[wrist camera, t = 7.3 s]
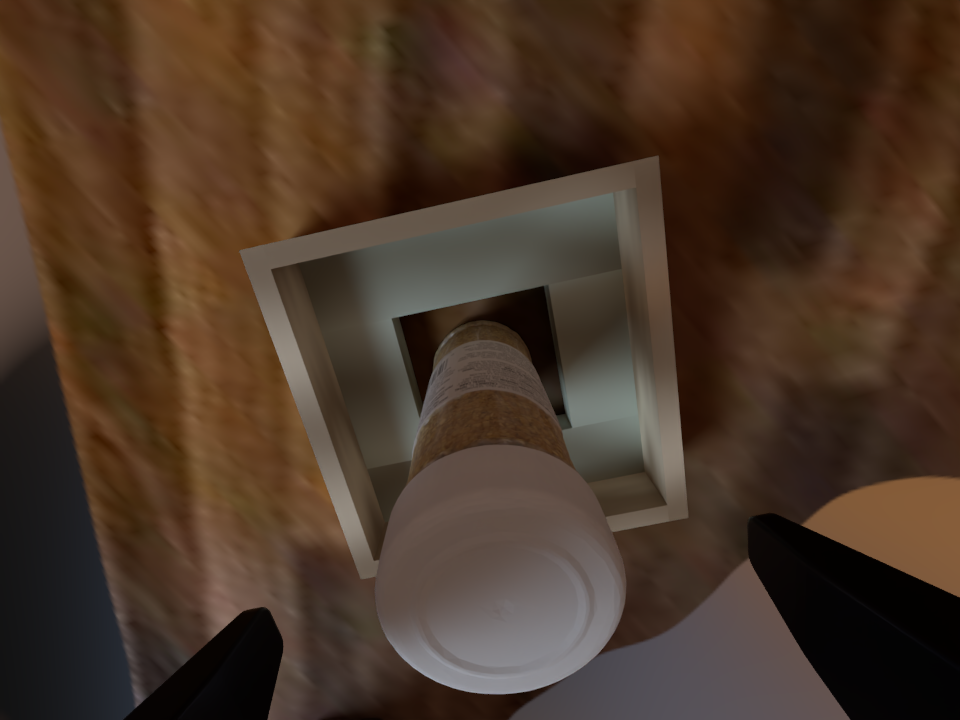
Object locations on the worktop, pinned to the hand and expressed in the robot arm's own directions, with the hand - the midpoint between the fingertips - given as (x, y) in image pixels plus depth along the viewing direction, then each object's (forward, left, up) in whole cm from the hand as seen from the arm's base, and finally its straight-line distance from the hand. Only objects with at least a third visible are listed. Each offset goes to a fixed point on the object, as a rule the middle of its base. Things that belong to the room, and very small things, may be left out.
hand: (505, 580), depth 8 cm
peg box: (0, 0, -13) cm, 13 cm away
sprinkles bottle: (0, 0, -13) cm, 13 cm away
